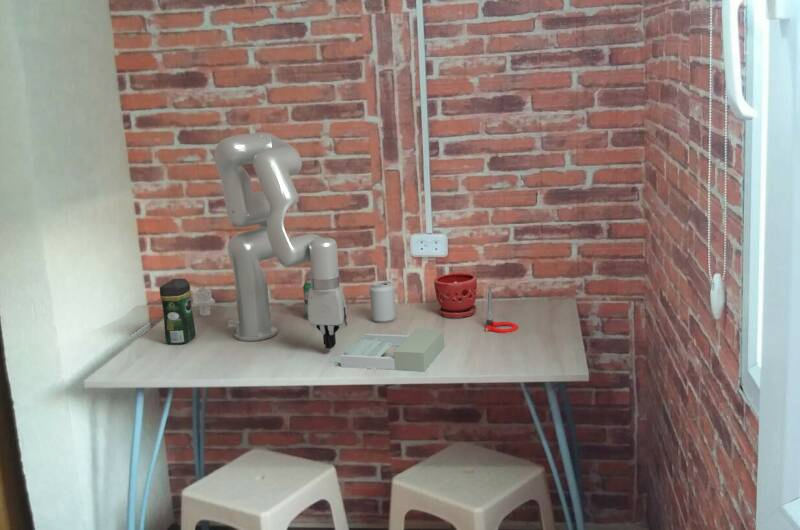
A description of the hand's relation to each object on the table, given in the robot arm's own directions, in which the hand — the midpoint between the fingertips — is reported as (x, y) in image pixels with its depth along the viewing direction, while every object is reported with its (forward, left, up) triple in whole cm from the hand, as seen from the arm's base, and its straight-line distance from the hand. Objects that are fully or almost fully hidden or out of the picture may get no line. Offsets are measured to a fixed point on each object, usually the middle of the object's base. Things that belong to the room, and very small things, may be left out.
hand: (330, 347), depth 252 cm
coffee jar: (-50, +5, -2) cm, 51 cm away
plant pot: (+26, +42, -2) cm, 49 cm away
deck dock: (+19, 0, -2) cm, 19 cm away
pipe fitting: (-57, +32, -2) cm, 66 cm away
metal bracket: (+11, -3, -3) cm, 12 cm away
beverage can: (-17, +33, -2) cm, 37 cm away
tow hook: (+43, +29, -2) cm, 52 cm away
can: (+5, +33, -2) cm, 33 cm away
